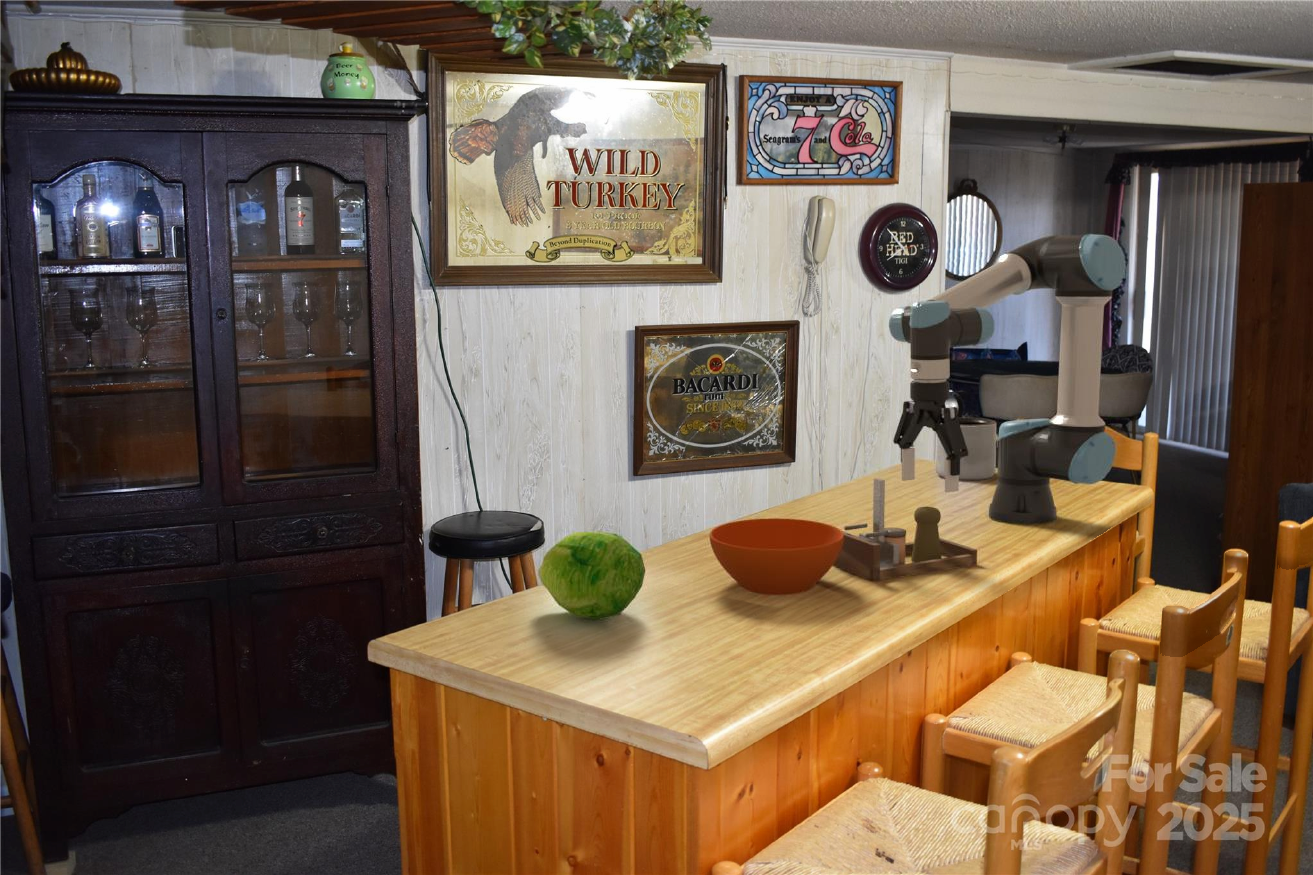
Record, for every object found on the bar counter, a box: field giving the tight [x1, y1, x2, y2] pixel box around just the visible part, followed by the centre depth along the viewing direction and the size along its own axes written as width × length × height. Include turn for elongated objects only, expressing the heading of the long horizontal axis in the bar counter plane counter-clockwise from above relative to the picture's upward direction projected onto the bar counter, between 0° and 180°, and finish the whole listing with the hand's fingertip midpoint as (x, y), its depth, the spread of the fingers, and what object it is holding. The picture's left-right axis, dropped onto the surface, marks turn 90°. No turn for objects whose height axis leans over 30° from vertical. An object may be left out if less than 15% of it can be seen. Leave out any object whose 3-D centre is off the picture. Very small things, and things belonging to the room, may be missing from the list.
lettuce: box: [537, 531, 646, 620], centre depth 199 cm, size 17×20×15 cm
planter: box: [935, 416, 997, 481], centre depth 319 cm, size 16×16×16 cm
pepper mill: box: [910, 506, 943, 563], centre depth 231 cm, size 6×6×11 cm
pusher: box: [858, 477, 899, 568], centre depth 225 cm, size 1×11×18 cm, turn 25°
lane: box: [833, 523, 978, 582], centre depth 229 cm, size 25×14×8 cm, turn 115°
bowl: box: [709, 517, 844, 596], centre depth 216 cm, size 25×25×10 cm
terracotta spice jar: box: [884, 526, 907, 565], centre depth 228 cm, size 5×5×7 cm
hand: (929, 485), depth 230 cm, fingers open, 13 cm apart
